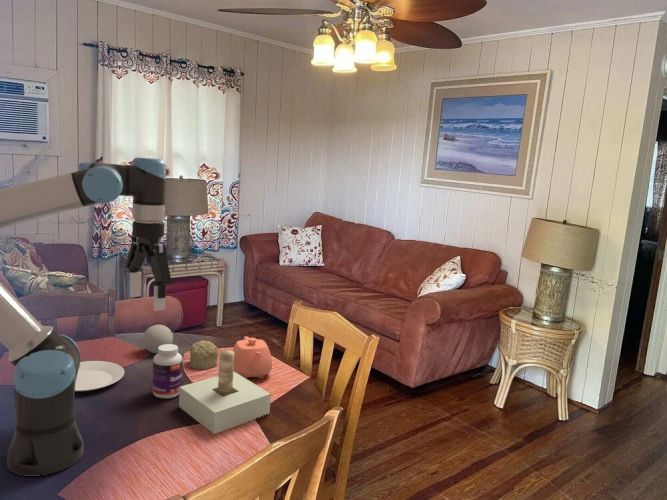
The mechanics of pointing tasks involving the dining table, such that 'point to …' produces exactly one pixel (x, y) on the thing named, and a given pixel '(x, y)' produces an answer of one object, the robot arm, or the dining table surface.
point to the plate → (97, 375)
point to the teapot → (252, 358)
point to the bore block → (224, 403)
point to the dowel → (225, 372)
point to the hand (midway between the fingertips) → (147, 303)
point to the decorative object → (203, 355)
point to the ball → (157, 337)
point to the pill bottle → (167, 372)
